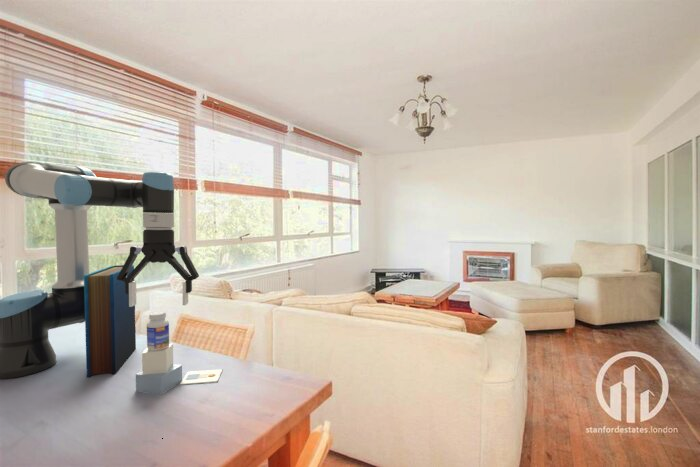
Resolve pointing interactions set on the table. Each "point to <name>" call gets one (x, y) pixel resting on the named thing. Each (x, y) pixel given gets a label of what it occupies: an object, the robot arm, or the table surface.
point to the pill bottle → (157, 331)
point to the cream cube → (157, 360)
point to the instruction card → (201, 377)
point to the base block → (159, 380)
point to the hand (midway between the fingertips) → (159, 304)
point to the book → (108, 321)
